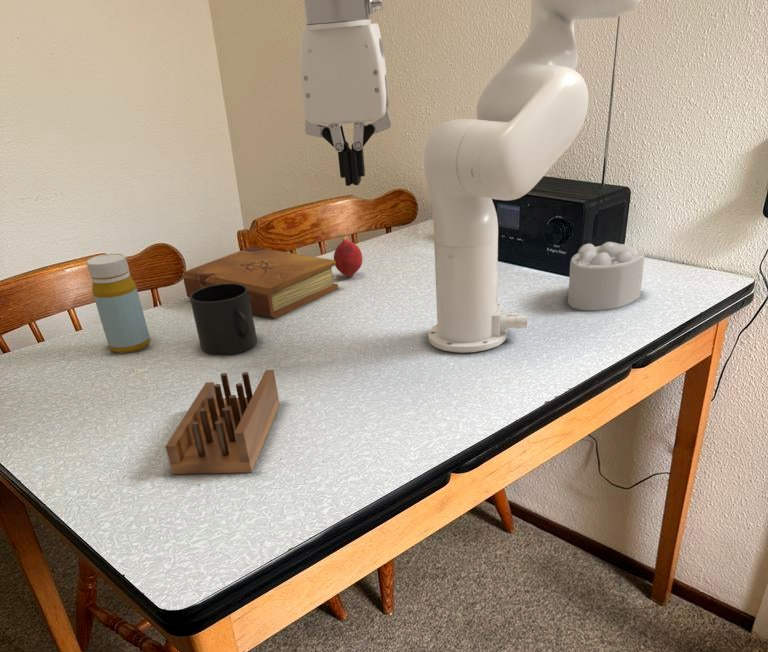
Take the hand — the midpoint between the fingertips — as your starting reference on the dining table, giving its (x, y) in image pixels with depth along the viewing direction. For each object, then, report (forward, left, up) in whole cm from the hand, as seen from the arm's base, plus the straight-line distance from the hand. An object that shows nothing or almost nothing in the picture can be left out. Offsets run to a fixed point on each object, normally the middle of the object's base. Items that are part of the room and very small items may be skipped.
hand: (353, 183), depth 97 cm
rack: (+17, +17, -27) cm, 36 cm away
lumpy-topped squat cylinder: (-37, -30, -27) cm, 55 cm away
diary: (+26, -40, -27) cm, 55 cm away
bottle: (+44, -16, -27) cm, 54 cm away
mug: (+25, -14, -27) cm, 40 cm away
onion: (+10, -49, -27) cm, 57 cm away
